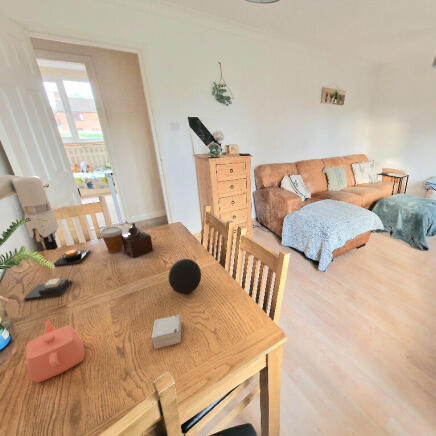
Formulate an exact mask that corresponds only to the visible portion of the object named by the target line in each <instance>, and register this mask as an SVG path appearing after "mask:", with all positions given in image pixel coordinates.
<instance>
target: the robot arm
mask: <svg viewBox="0 0 436 436" xmlns="http://www.w3.org/2000/svg"><path fill="white" fill-rule="evenodd" d="M15 195H17V198H18V200H19V203H20V205H21V208H22V211H23V213H24V220H25V219H26V218H30V219H31V221H28V222H26V223H25V227H26V230H27V233H28V236H29V238H30V239H36V242H37V243H39V242H41V243H43V244H44V247H45V250H46V251H52V250H53V251H54V250H56V249H58V248H59V247H58V243H57V240H56V232H57V231H58V229H59V224H58V220H57V217H56V216H55V214H54V212H53V209H52V207H51V206H52V205H51V204H50V201H49V198H48V195H47V193H46V189H45V186H44V183H43V181H42V179H41V178H40V177H39V176H36V175H23V176H22V175H14V174H2V175H0V201H1V200H4V199H7V198H9V197H11V196H15ZM41 218H43V219H47V220H49V221H42V220H37V219H41Z"/></svg>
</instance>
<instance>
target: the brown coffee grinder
mask: <svg viewBox="0 0 436 436" xmlns="http://www.w3.org/2000/svg"><path fill="white" fill-rule="evenodd" d="M121 239H122V243H123V252H124V253H125V254H126V255H127V256H129V257H131V258H133V259H135V258H137V257H142V256H143V255H146V254H148V253H151V252H153V251H154V247H153V241H152V236H151V234H148V233H147V232H145V231H143V230H140V229H139V228H138V227H137V226H136V223H135V222H133V223H131V227H128V233H127V234H124V235H122V236H121Z"/></svg>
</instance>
